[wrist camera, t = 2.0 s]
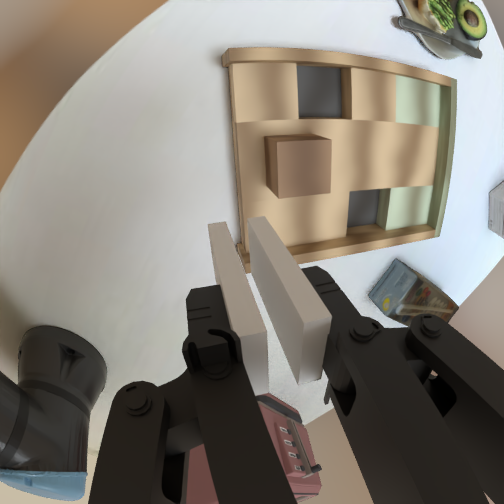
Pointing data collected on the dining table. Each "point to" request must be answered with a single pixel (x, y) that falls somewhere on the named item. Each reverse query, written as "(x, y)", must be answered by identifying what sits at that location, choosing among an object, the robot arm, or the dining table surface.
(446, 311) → the beverage carton
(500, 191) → the supplement box
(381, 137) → the box
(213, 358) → the robot arm
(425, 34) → the salad plate
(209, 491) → the toaster
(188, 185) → the dining table surface
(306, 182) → the block
